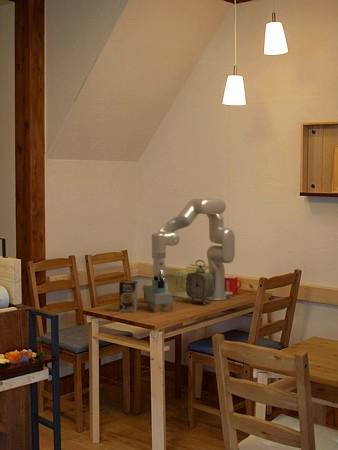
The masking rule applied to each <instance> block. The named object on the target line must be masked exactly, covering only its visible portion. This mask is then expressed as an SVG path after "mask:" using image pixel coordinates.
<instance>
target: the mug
mask: <svg viewBox="0 0 338 450" xmlns="http://www.w3.org/2000/svg"><path fill="white" fill-rule="evenodd" d="M238 282H239V283H238ZM238 284H239V286H238ZM241 287H242V280H241V279H239V278H238V276H237V275H225V291H226V292H232V293H233V294H232V295H231V296H235V295H237V294H238V290H239V289H240V288H241ZM234 294H235V295H234Z"/></svg>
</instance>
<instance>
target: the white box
mask: <svg viewBox="0 0 338 450" xmlns="http://www.w3.org/2000/svg"><path fill="white" fill-rule="evenodd" d="M173 297H174V296H173V294H172V293H170V292H169V291H168V290H166V293H154V292H153V291H152V290H146V299H147V300H149V301H150V302H152V303H154V304H166V303H173V304H174V298H173Z"/></svg>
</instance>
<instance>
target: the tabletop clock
mask: <svg viewBox="0 0 338 450" xmlns="http://www.w3.org/2000/svg"><path fill="white" fill-rule="evenodd" d="M195 261H196V262H195V263H196V265H197V263H199V262H202V264H204V266H205V264H206V262H205V261H204V260H202V259H198V260H195ZM197 266H198V265H197ZM204 266H201V265H200V266H198V267H200V268H198V269H197V270H196V272H194V273H189V274H187V278H186V282H185V286H186V291H187V295H188V296H189V297H188V298H191V299H189V303H192V302H193V300H194V299H198V300H201V303H202V304H203V306H206V305H207V303H206V298H208V297H212V295H213V293H214V277H213V275H211V274H210V273H209V272H207V271H205V270H204V269H203V268H202V267H204Z"/></svg>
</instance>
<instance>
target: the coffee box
mask: <svg viewBox="0 0 338 450" xmlns="http://www.w3.org/2000/svg"><path fill="white" fill-rule="evenodd" d="M118 285H119V293H118V295H119V296H118V298H119V299H118V300H119V302H118V303H119V305H118V307H119V308H118V309H119V310H118V312H119V313H137V311H138V281H137V280H134V281H133V280H121V281H119V284H118Z"/></svg>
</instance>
